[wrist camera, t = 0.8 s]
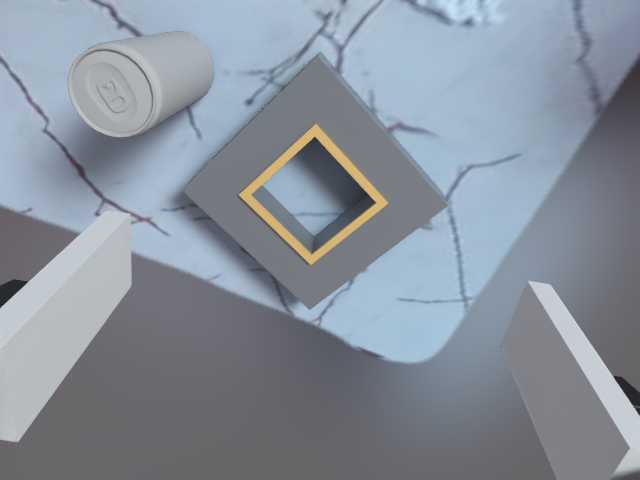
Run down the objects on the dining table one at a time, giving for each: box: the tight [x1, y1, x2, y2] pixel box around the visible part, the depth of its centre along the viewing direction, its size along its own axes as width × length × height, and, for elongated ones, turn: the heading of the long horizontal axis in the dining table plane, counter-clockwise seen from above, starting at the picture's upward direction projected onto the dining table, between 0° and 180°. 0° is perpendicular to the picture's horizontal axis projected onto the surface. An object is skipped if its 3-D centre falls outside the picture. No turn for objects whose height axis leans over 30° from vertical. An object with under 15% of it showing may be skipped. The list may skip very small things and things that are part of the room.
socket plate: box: [182, 52, 448, 310], centre depth 38 cm, size 14×14×3 cm
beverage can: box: [68, 31, 214, 138], centre depth 31 cm, size 5×5×12 cm
